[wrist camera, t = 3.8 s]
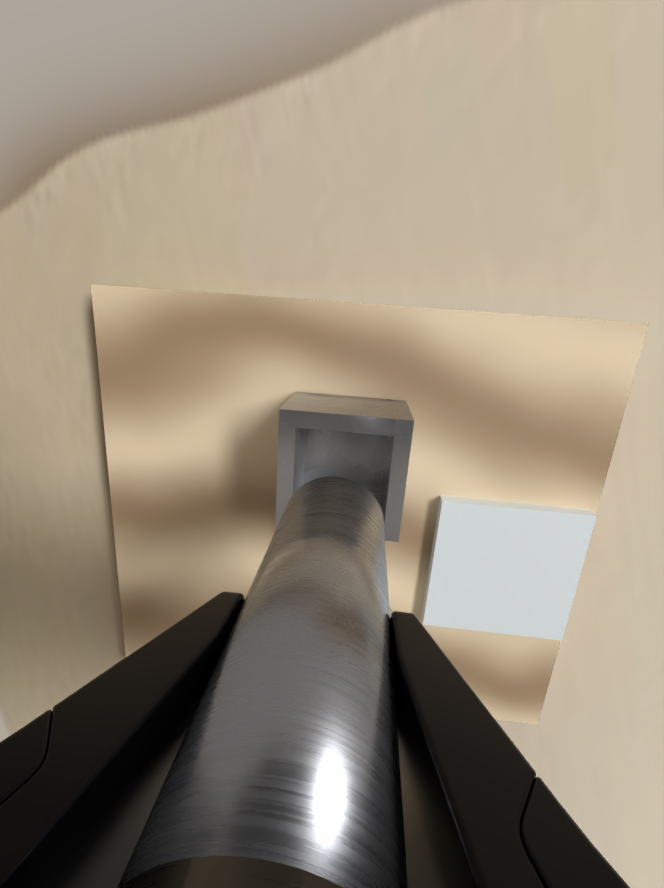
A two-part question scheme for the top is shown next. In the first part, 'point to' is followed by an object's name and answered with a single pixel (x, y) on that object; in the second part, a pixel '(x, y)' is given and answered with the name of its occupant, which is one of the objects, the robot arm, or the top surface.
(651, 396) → the top surface
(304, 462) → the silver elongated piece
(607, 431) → the board
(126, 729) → the robot arm
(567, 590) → the coaster
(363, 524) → the metal cylinder
